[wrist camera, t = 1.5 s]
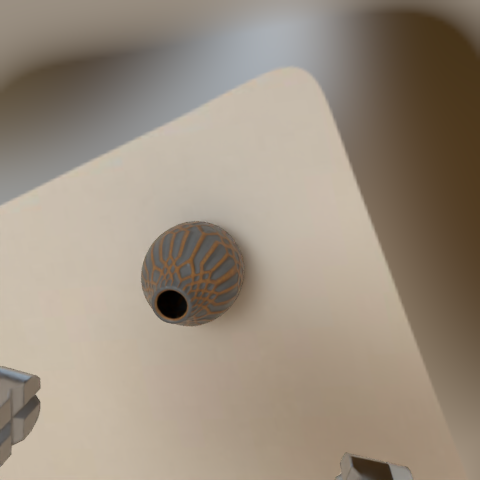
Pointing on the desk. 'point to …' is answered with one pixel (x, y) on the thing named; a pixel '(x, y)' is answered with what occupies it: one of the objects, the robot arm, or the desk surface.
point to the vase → (192, 274)
